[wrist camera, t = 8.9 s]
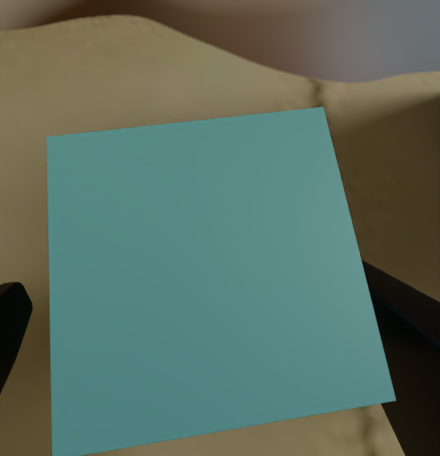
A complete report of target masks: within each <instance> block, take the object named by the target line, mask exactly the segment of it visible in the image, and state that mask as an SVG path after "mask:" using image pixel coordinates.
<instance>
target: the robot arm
mask: <svg viewBox="0 0 440 456" xmlns="http://www.w3.org/2000/svg"><path fill="white" fill-rule="evenodd" d="M361 261H362V265H363V269H364V273H365V277H366V281H367V285H368V289H369V293H370V297H371V301H372V305H373V309H374V313H375V317H376V321H377V325H378V329H379V333H380V337H381V341H382V345H383V349H384V353H385V357H386V361H387V365H388V370H389V374H390V378H391V382H392V386H393V390H394V394H395V398H396V401H391V402H385V403H381V405H382V407H383V409H384V412H385V414H386V416H387V418H388V420H389V422H390V424H391V426H392V428H393V431H394V433H395V435H396V437H397V439H398V441H399V443H400V445H401V448H402V450H403V452H404V454H405V456H440V302H438V301H436V300H435V299H433V298H431V297H429V296H427V295H425V294H424V293H422V292H420V291H418V290H416V289H414V288H413V287H411V286H409V285H407V284H405V283H403V282H402V281H400V280H398V279H396V278H394V277H392V276H391V275H389V274H387V273H385V272H383V271H381V270H380V269H378V268H376V267H374V266H372V265H370V264H369V263H367V262H365V261H363V260H361ZM32 308H33V306H32V302H31V300H30V298H29V296H28V294H27V292H26V290H25V288H24V286H23V285H22V284H21V283H20V282H10V283H4V284H2V285H0V394H1V391H2V389H3V387H4V385H5V383H6V380H7V378H8V376H9V374H10V372H11V369H12V367H13V365H14V362H15V360H16V357H17V355H18V352H19V349H20V346H21V343H22V340H23V337H24V334H25V331H26V328H27V325H28V322H29V319H30V316H31V313H32Z"/></svg>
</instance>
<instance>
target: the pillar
mask: <svg viewBox="0 0 440 456" xmlns="http://www.w3.org/2000/svg"><path fill="white" fill-rule="evenodd" d="M47 185H48V242H49V300H50V357H51V414H52V456H81V455H87V454H93V453H98V452H104V451H110V450H116V449H121V448H127V447H133V446H139V445H144V444H150V443H156V442H162V441H167V440H173V439H179V438H184V437H190V436H196V435H202V434H207V433H213V432H219V431H225V430H230V429H236V428H242V427H248V426H253V425H259V424H265V423H271V422H276V421H282V420H288V419H293V418H299V417H305V416H311V415H316V414H322V413H328V412H334V411H339V410H345V409H351V408H357V407H362V406H368V405H374V404H380V403H385V402H391V401H396V398H395V394H394V390H393V386H392V382H391V378H390V374H389V370H388V365H387V361H386V357H385V353H384V349H383V345H382V341H381V337H380V333H379V329H378V325H377V321H376V317H375V313H374V309H373V305H372V301H371V297H370V293H369V289H368V285H367V281H366V277H365V273H364V269H363V265H362V261H361V257H360V253H359V249H358V245H357V240H356V236H355V232H354V228H353V224H352V220H351V216H350V212H349V208H348V204H347V200H346V196H345V192H344V188H343V184H342V180H341V176H340V172H339V168H338V164H337V160H336V156H335V152H334V148H333V144H332V140H331V136H330V132H329V128H328V124H327V119H326V115H325V111H324V107H317V108H308V109H299V110H290V111H280V112H271V113H262V114H253V115H243V116H234V117H225V118H216V119H207V120H197V121H188V122H179V123H170V124H160V125H151V126H142V127H133V128H123V129H114V130H105V131H96V132H86V133H77V134H68V135H59V136H49V137H47Z"/></svg>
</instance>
